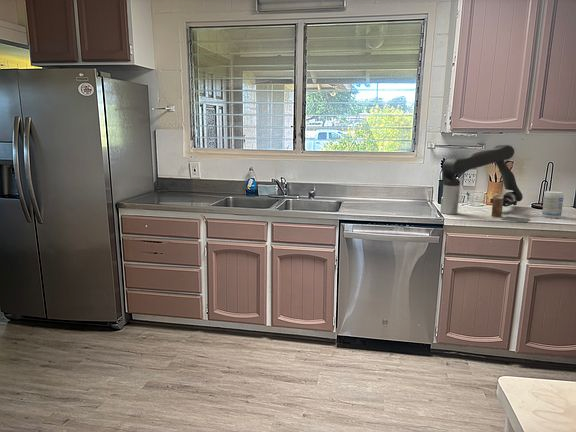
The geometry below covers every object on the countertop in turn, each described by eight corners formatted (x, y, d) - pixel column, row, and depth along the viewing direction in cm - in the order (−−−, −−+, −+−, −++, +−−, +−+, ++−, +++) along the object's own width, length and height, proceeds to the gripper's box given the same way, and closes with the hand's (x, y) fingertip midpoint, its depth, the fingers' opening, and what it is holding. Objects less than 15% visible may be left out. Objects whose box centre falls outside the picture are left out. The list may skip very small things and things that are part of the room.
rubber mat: (502, 219, 236) (502, 219, 236) (507, 216, 244) (507, 216, 244) (526, 222, 228) (526, 221, 228) (530, 219, 237) (530, 218, 236)
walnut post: (491, 216, 245) (493, 194, 242) (493, 215, 248) (495, 193, 245) (499, 217, 242) (501, 195, 239) (501, 216, 245) (503, 194, 243)
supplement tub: (561, 219, 237) (564, 193, 234) (542, 217, 242) (545, 192, 239) (560, 216, 246) (563, 191, 243) (541, 214, 250) (544, 190, 247)
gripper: (495, 192, 265) (488, 195, 253) (520, 195, 256) (514, 198, 244) (494, 204, 267) (487, 207, 254) (519, 207, 258) (513, 210, 246)
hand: (500, 203), depth 249 cm, fingers open, 8 cm apart
